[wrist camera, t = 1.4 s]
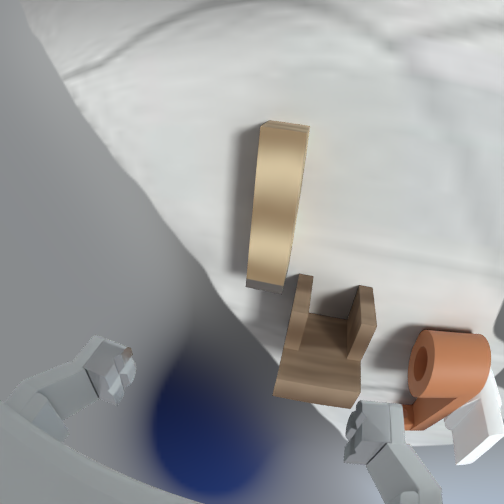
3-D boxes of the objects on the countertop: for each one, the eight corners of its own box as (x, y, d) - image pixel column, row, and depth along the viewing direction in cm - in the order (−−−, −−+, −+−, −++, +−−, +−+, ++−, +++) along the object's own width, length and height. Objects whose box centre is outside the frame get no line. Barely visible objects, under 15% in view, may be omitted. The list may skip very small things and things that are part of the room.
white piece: (456, 362, 35) (471, 437, 24) (502, 363, 33) (522, 430, 23) (430, 399, 39) (437, 467, 29) (474, 399, 38) (486, 461, 27)
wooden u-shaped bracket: (299, 273, 33) (285, 342, 25) (372, 287, 32) (379, 359, 23) (287, 327, 37) (272, 395, 29) (352, 339, 36) (350, 408, 28)
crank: (426, 315, 32) (439, 367, 26) (479, 321, 31) (497, 368, 24) (377, 408, 43) (377, 451, 36) (421, 410, 41) (425, 451, 35)
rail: (269, 120, 26) (260, 126, 23) (309, 126, 25) (306, 132, 22) (255, 264, 34) (245, 286, 30) (287, 271, 33) (281, 294, 30)
